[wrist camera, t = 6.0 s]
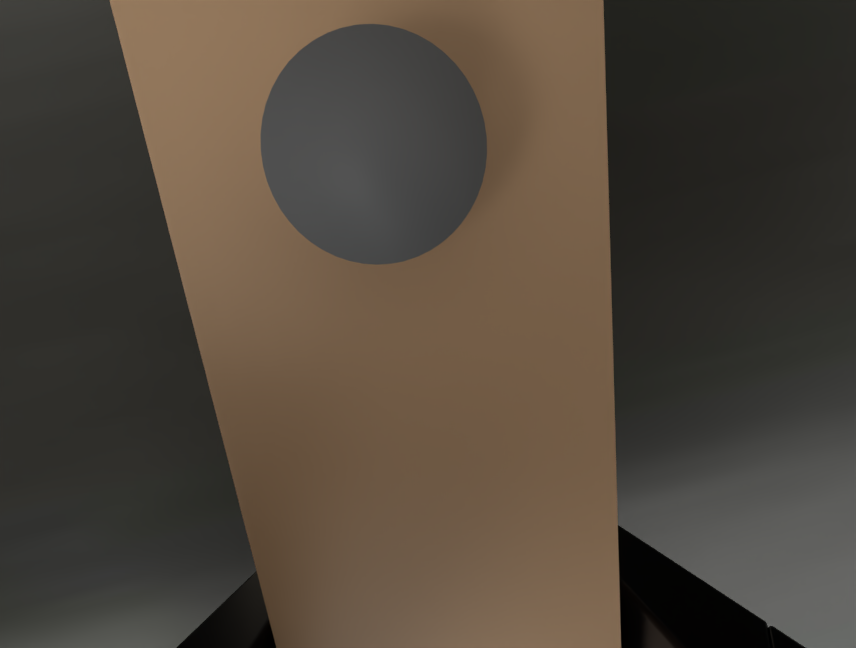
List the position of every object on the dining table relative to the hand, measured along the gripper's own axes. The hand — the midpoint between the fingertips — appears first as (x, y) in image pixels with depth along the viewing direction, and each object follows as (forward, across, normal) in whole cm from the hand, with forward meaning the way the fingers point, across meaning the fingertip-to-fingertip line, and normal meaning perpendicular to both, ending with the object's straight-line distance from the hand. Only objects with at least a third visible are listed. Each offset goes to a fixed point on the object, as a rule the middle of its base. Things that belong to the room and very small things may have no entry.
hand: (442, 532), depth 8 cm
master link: (+1, 0, 0) cm, 1 cm away
